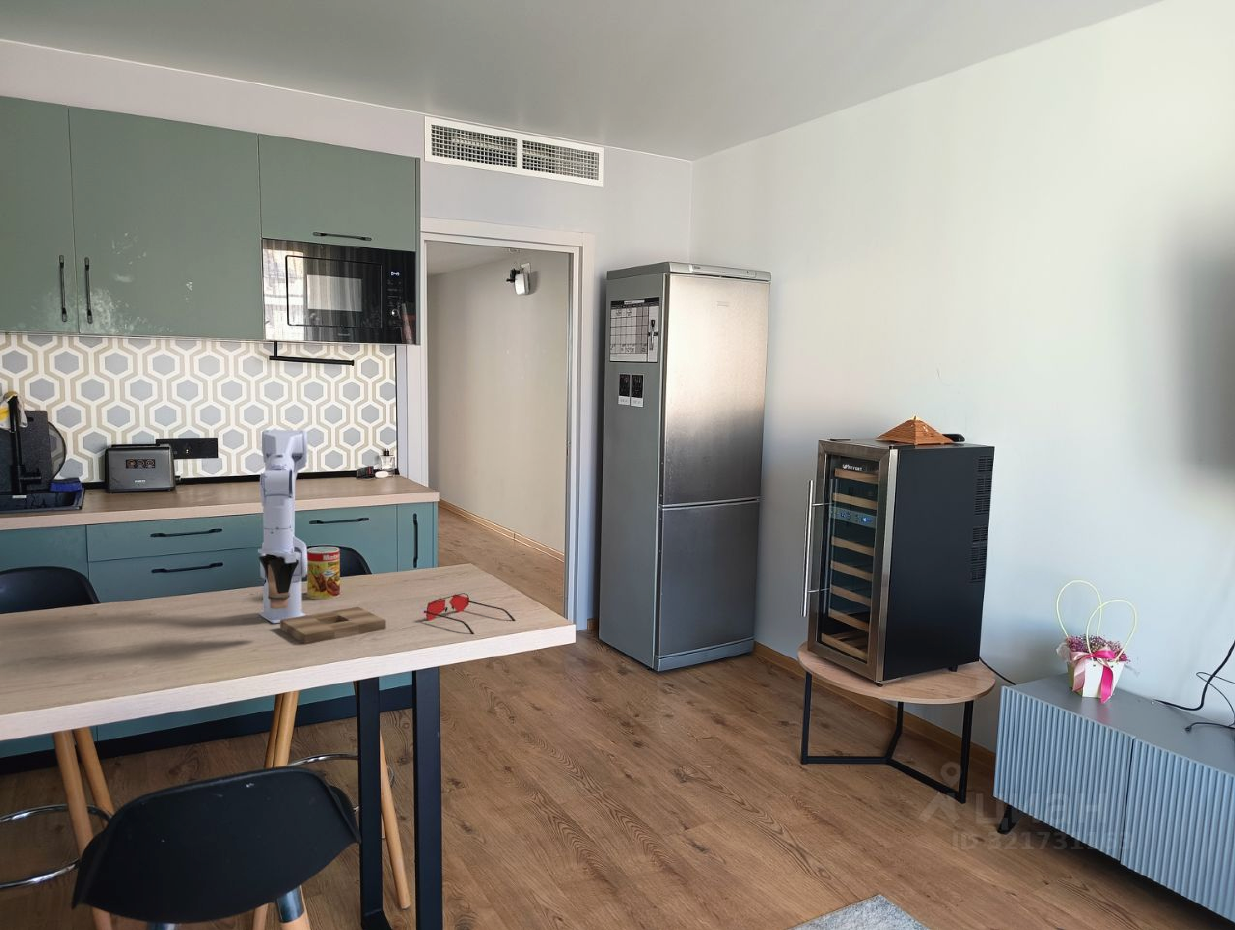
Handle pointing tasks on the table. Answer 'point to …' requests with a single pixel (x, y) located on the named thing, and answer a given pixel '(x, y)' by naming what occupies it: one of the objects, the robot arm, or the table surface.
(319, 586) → the canned food
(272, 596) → the peg
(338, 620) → the board
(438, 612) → the glasses
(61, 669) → the table surface
